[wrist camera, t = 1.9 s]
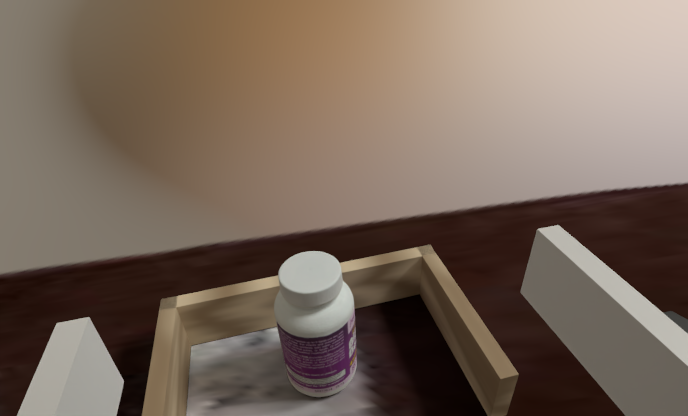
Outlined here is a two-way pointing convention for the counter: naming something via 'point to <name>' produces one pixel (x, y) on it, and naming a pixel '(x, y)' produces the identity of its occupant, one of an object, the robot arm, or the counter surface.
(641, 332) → the robot arm
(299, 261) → the pill bottle
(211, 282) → the counter surface
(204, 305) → the wooden frame
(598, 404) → the counter surface
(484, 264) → the counter surface
